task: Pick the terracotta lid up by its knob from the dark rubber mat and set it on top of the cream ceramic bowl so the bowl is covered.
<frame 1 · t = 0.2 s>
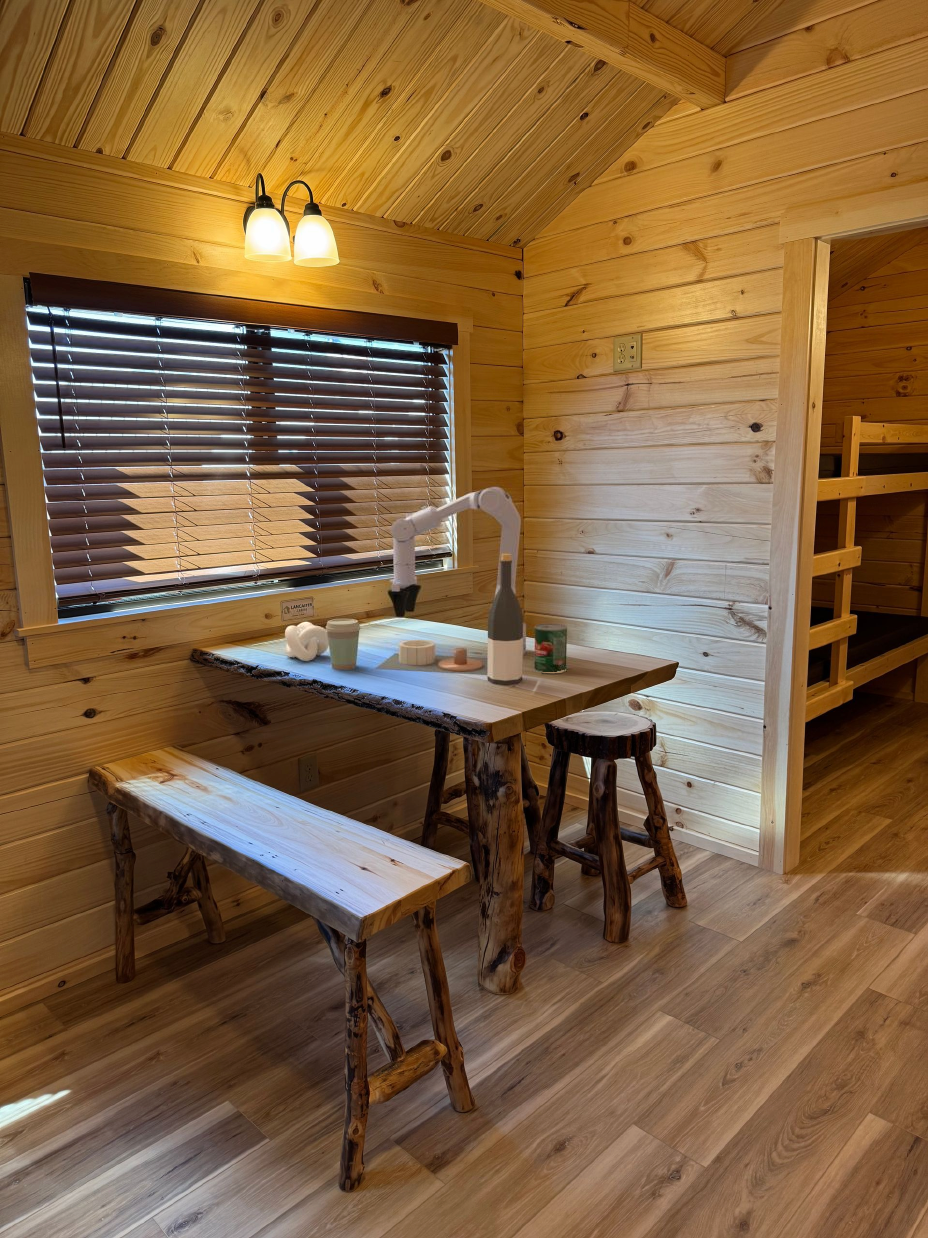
hand: (405, 614, 226), 10 cm above the table, tool pointing down, fingers open, 7 cm apart
coffee cup: (344, 669, 208), on the table
lid: (460, 666, 209), resting on mat
bowl: (417, 660, 214), resting on mat
wine bottle: (504, 683, 196), on the table
canned tomato: (550, 670, 207), on the table
mat: (438, 665, 211), on the table
white knot sculpture: (303, 659, 219), on the table
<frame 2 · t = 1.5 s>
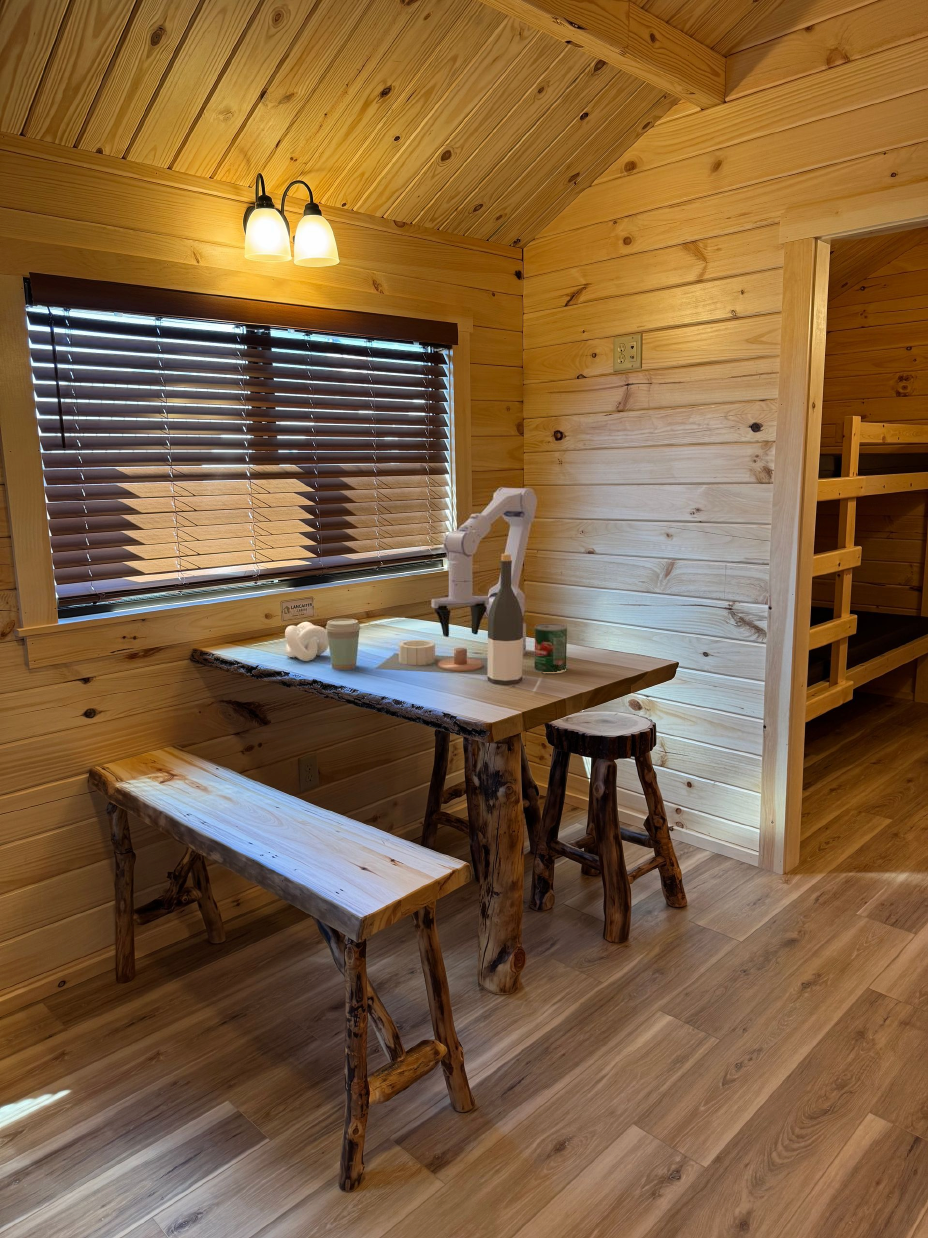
hand: (460, 634, 207), 8 cm above the table, tool pointing down, fingers open, 7 cm apart
nothing on the table moved.
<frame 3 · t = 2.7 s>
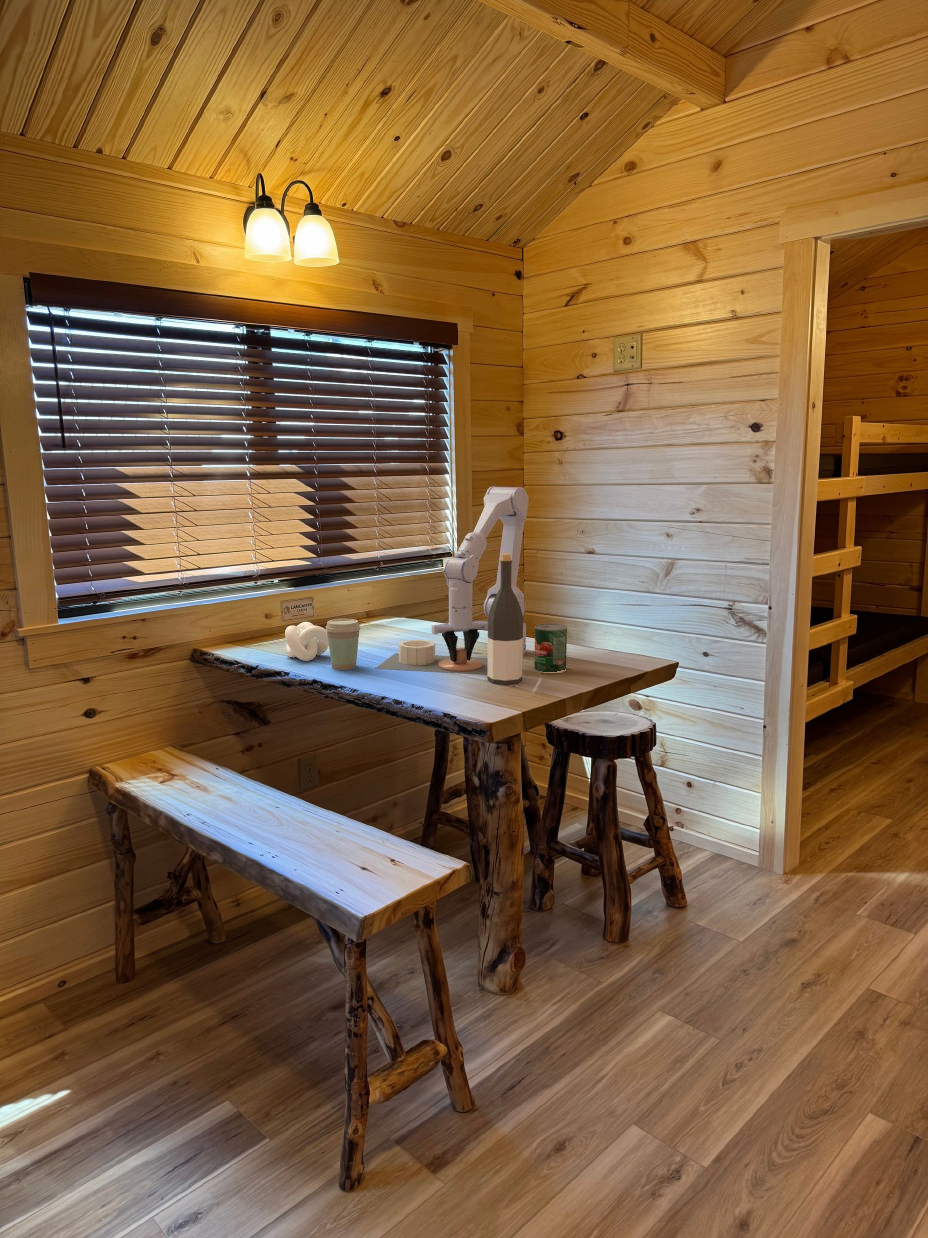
hand: (460, 660, 208), 2 cm above the table, tool pointing down, fingers closed on lid, 3 cm apart
lid: (460, 666, 209), resting on mat, touching gripper
everything else where it was.
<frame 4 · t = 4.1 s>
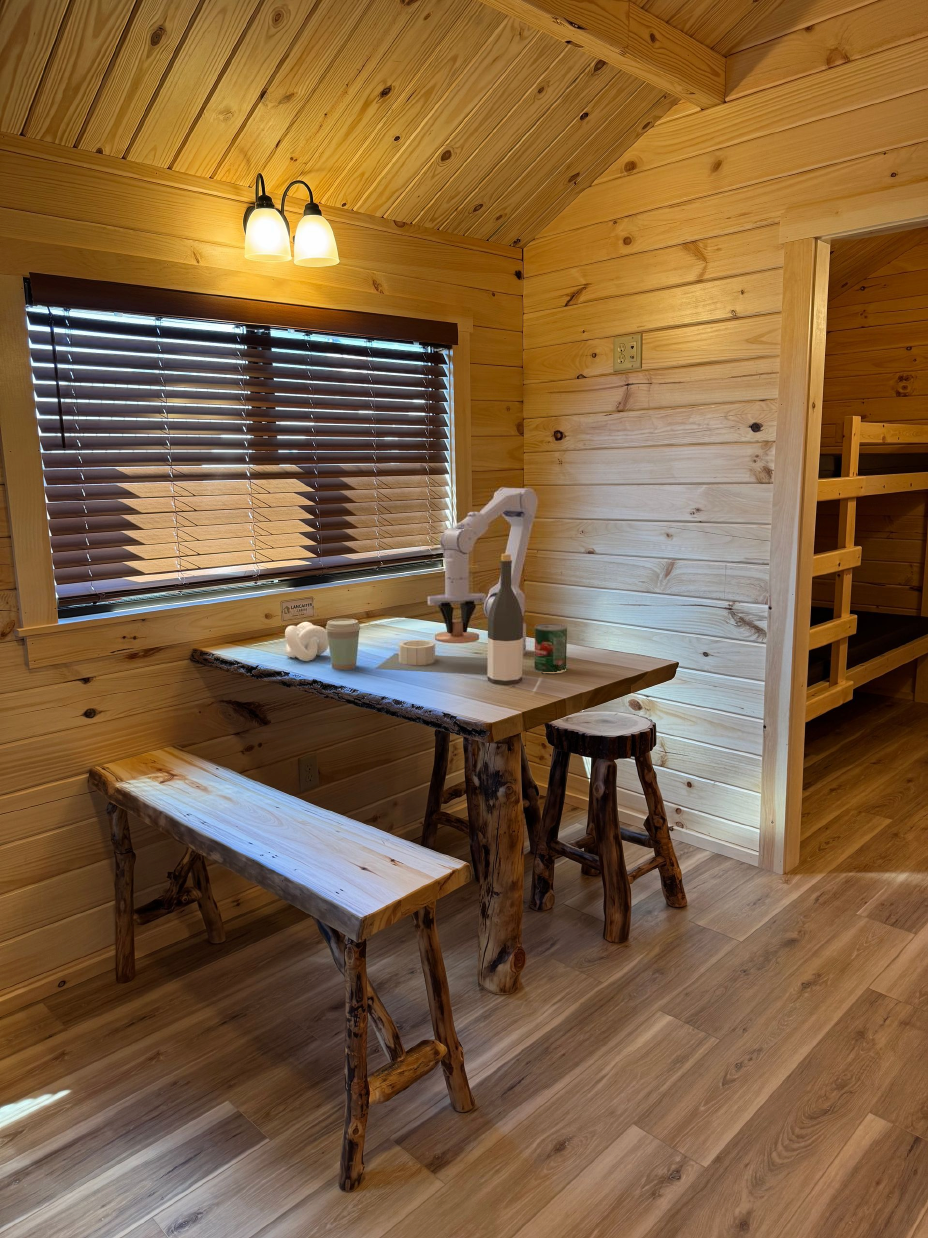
hand: (456, 632, 207), 9 cm above the table, tool pointing down, fingers closed on lid, 3 cm apart
lid: (457, 638, 208), point 7 cm above the table, touching gripper
everything else where it was.
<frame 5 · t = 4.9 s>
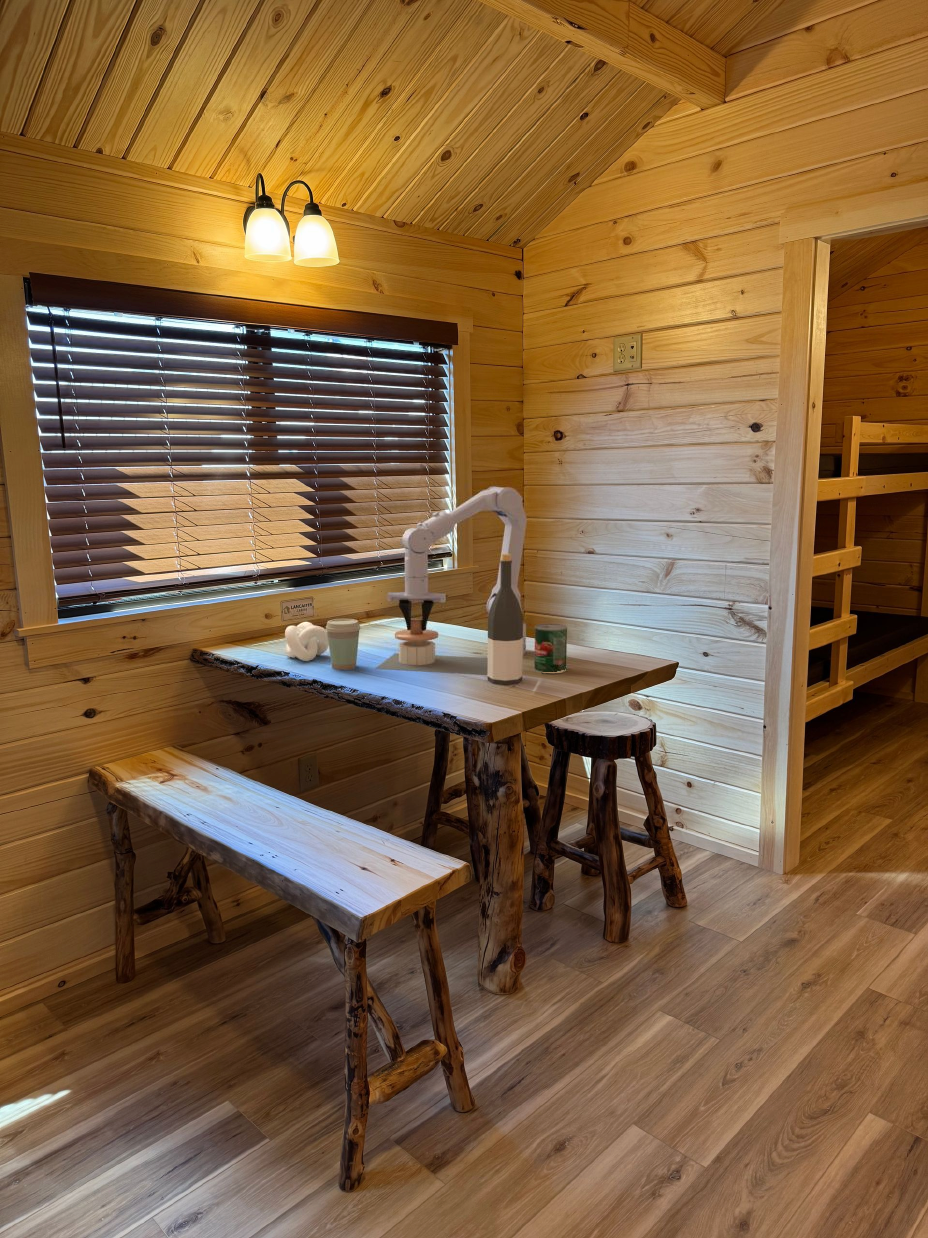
hand: (416, 629, 213), 9 cm above the table, tool pointing down, fingers closed on lid, 3 cm apart
lid: (416, 636, 213), point 7 cm above the table, touching gripper
everything else where it was.
when the fingers open (7 cm above the table, at t = 5.4 s): lid stays where it is, resting on bowl.
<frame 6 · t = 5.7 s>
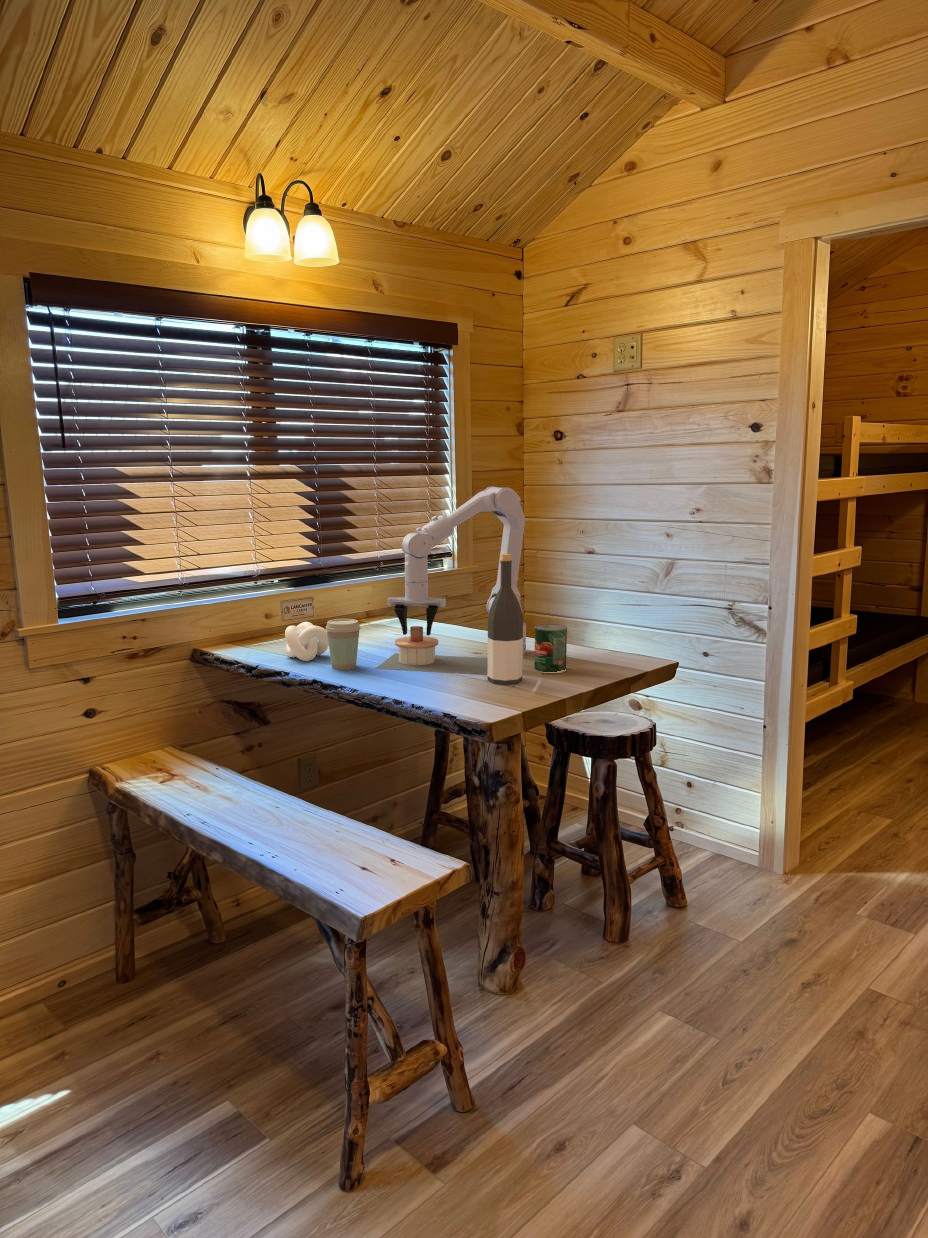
hand: (416, 634, 213), 7 cm above the table, tool pointing down, fingers open, 5 cm apart
lid: (416, 643, 213), point 5 cm above the table, touching bowl
everything else where it was.
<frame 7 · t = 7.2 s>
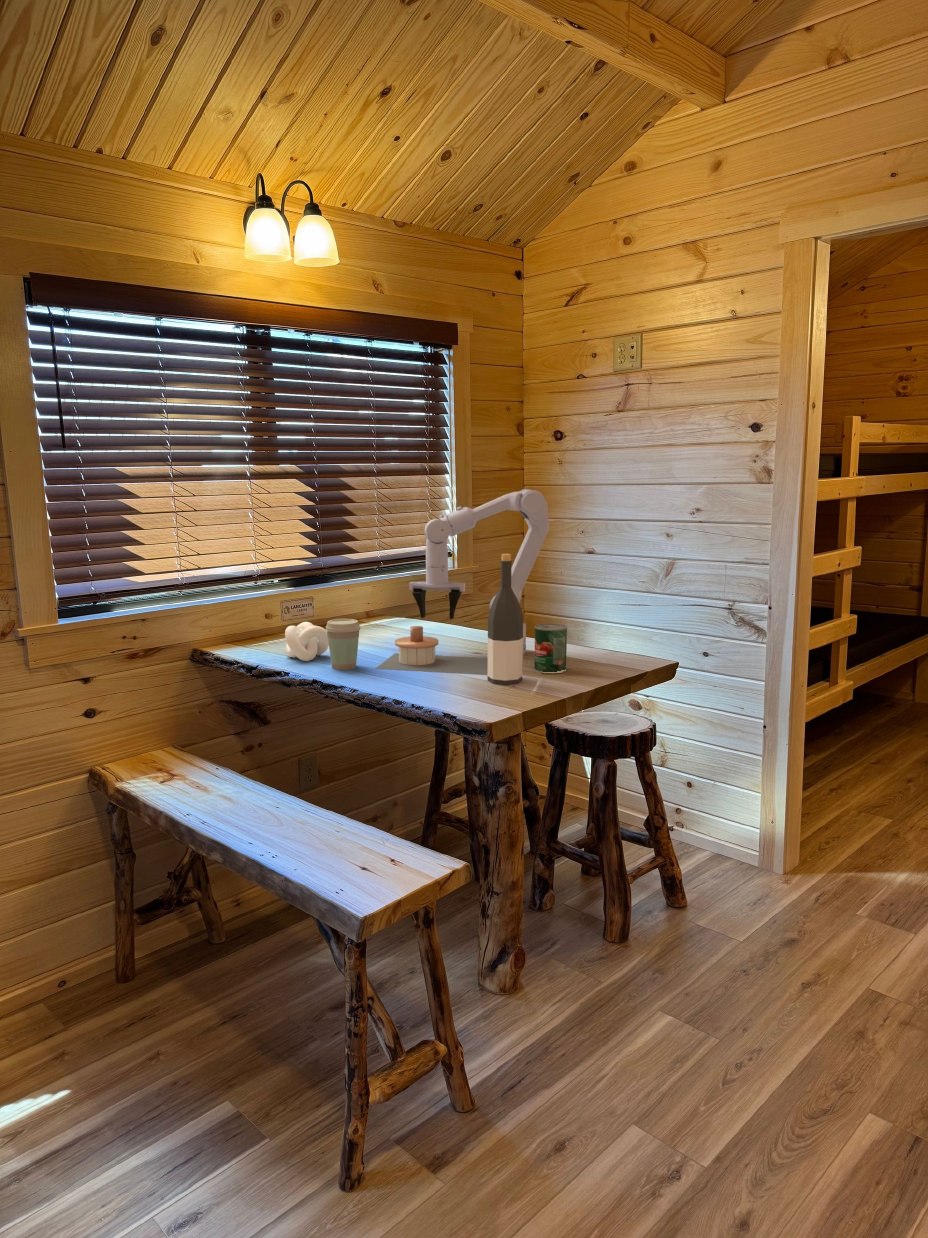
hand: (437, 617, 219), 10 cm above the table, tool pointing down, fingers open, 7 cm apart
nothing on the table moved.
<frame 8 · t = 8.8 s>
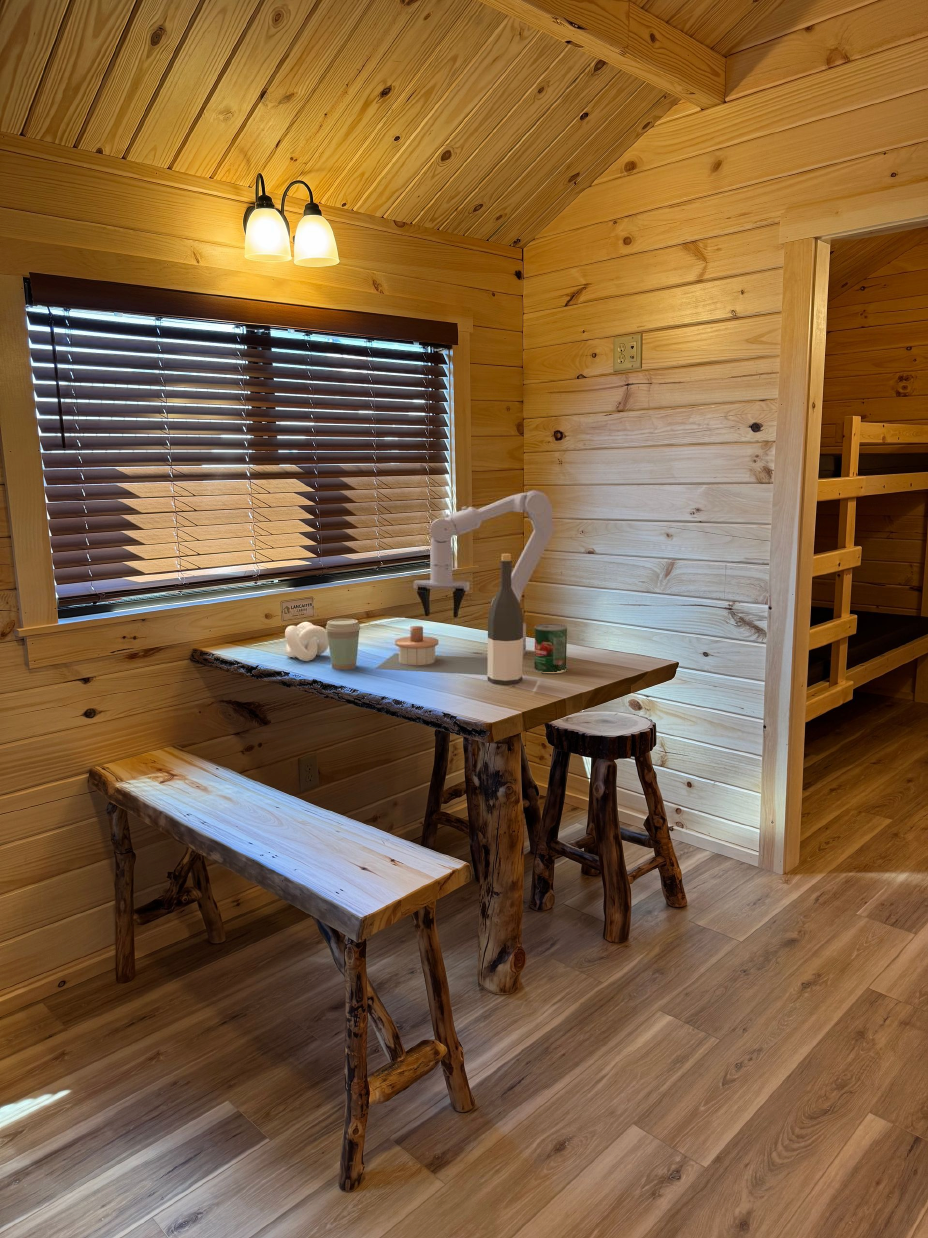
hand: (441, 616, 221), 10 cm above the table, tool pointing down, fingers open, 7 cm apart
nothing on the table moved.
at the end: lid 0.2 cm off-centre on the bowl, point 4.5 cm above the bowl's base; lid tilted 0°; the gripper is holding nothing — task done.
